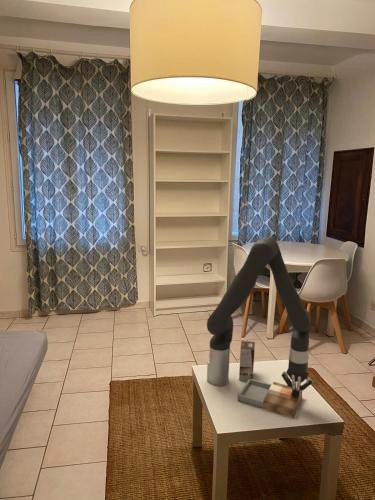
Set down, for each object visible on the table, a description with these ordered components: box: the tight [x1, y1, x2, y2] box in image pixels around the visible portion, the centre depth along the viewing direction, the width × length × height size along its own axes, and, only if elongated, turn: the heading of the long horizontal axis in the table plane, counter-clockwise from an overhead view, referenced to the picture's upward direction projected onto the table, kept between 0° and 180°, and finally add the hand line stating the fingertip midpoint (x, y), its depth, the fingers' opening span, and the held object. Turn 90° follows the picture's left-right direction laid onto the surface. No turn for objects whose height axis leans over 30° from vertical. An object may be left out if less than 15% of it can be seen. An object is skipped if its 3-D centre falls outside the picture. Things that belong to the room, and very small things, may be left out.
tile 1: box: [269, 383, 282, 396], centre depth 163 cm, size 4×4×2 cm
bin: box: [237, 378, 273, 410], centre depth 167 cm, size 11×15×3 cm
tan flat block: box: [262, 381, 303, 419], centre depth 162 cm, size 12×16×4 cm
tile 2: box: [279, 387, 292, 399], centre depth 161 cm, size 4×4×2 cm
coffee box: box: [238, 340, 256, 382], centre depth 182 cm, size 9×6×16 cm
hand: (295, 396), depth 159 cm, fingers closed
